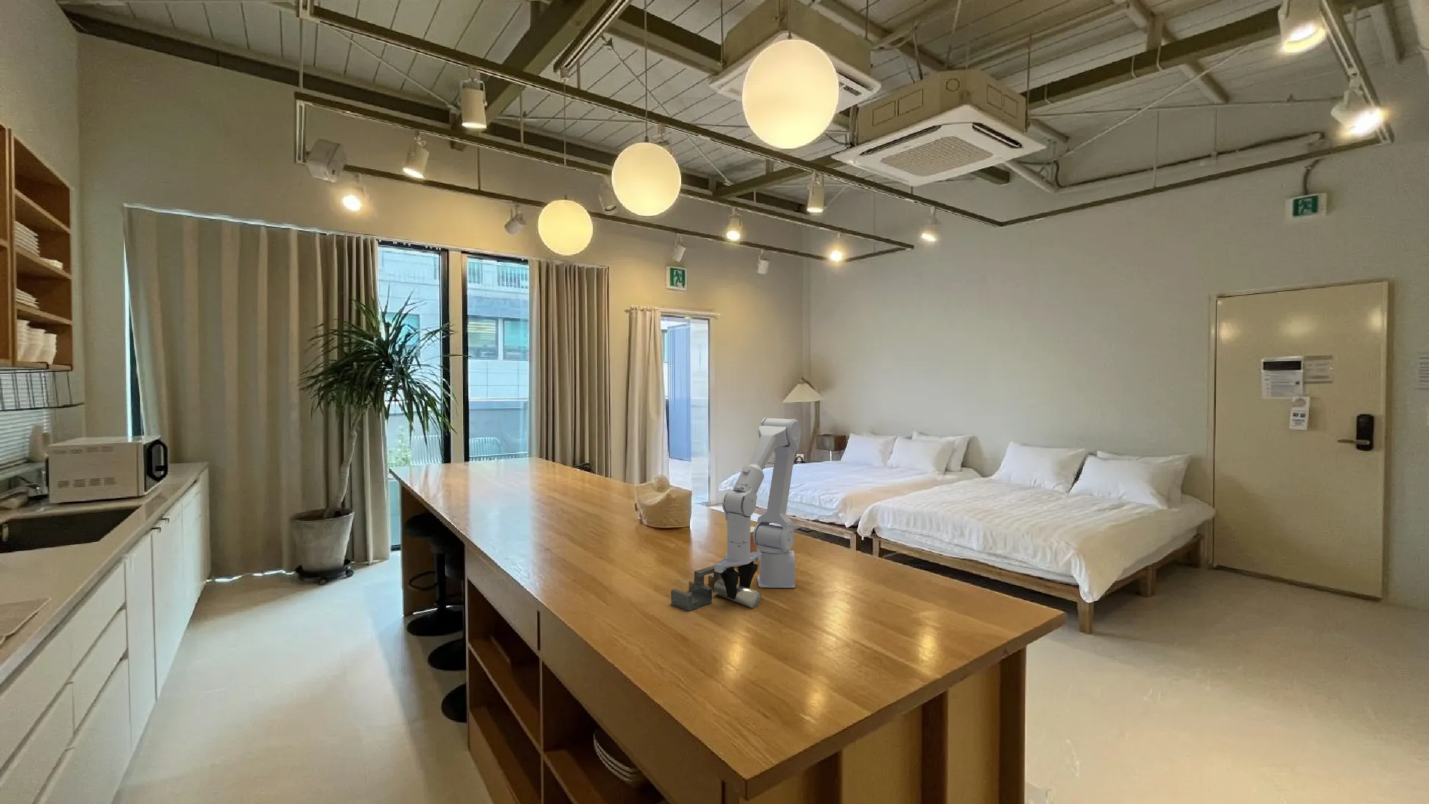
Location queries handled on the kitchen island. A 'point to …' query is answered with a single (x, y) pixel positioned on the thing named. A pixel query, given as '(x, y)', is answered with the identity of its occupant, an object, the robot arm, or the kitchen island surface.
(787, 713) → the kitchen island surface
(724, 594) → the axle
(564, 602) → the kitchen island surface
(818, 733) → the kitchen island surface
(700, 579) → the bearing block
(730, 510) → the robot arm
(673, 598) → the cradle
